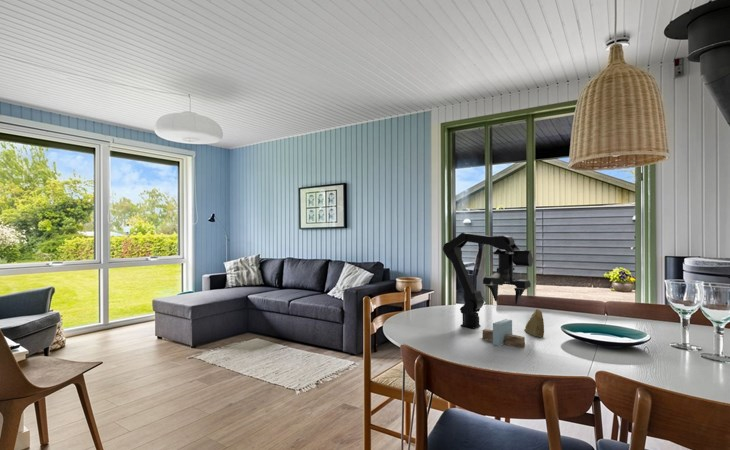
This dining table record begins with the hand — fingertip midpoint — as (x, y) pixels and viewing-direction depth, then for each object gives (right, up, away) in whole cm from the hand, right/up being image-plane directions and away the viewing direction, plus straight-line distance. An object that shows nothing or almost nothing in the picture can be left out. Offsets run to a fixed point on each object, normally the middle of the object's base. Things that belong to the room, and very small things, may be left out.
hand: (506, 302), depth 162 cm
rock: (+11, -13, -3) cm, 17 cm away
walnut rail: (-6, -13, -14) cm, 20 cm away
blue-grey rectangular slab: (-6, -13, -14) cm, 20 cm away
